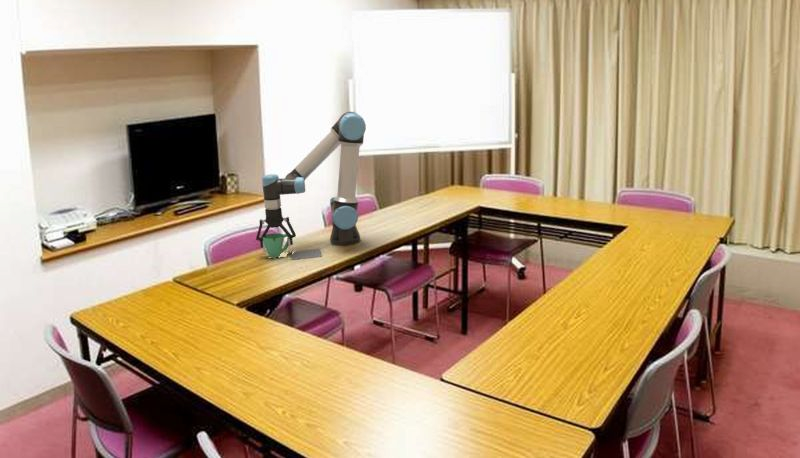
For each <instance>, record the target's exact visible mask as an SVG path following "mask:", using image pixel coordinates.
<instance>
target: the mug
mask: <svg viewBox="0 0 800 458" xmlns="http://www.w3.org/2000/svg"><path fill="white" fill-rule="evenodd" d="M285 238H286V242H285V244H284V239H285ZM288 238H289V237H288V236H287V234H286V233H284V234H283V233H267V234H266V235H265V237H263V241H264V244H265V250H266V253H267V255H268V258H269V257H271V258H274V259H277V258H276V257H279V256H280V254H281V253H283V252H286V250H287V249H288V248H289V242H288Z"/></svg>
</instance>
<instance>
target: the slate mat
mask: <svg viewBox="0 0 800 458" xmlns="http://www.w3.org/2000/svg"><path fill="white" fill-rule="evenodd" d="M295 251H296V252H294V253H293V254H290V255H291V261H293V260H304V259H305V260H306V259H314V258H322V257H323V255H322V251H321V248H311V249H301V250H295Z"/></svg>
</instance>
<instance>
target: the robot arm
mask: <svg viewBox="0 0 800 458" xmlns="http://www.w3.org/2000/svg"><path fill="white" fill-rule="evenodd" d="M366 125H367V124H366V121H365V120H364V118H363V117H362V115H360V114H358V113H357V112H355V111H347V112H345V113H343V114H341V116H340V117H339V118H338V119H337V121H336V122H335V123H334V125H333V126H331V128H330V131H329V133H328V134H327V135H325V137H323V139H322V140H321V141H320V142H319V143H318V144H317V145H316V146H315V147H314V148H313V149H312V150H311V151H310V152H308V154H307V155H306V156H305V157H304V158H303V159H302V160H301V161H300V162H299V163H298V164H297V165H296V166H295V167H294V168H293V170H291V171H290V172H289V173H287V174H286V175H285V178H279V175H278V174H275V173H274V174H265V175H263V176H262V180H261V181H262V182H261V183H262V192H263V201H264V202H263V203H264V211H265V213H264V214H265V219H261V218H260V219H259V227H258V229H257V234H256V238H255V240H256V241H259V243H260V248H261V249H263V255H264V256H265V255H266V253H267V251H266V248H265V244H264V241H263V237H265V235H266V234H268V232H269V231H270V229H274V228H280V229H281V230H282V232H284V234H287V236H288V237H289V238H288V242H289V246H288V253H291V251H292V248H291V247H292V246H293V245H294V243H293V242H294V241H293V239H294V238H296V236H297V235H296V234H297V233H296V232H295V230H294V228H293V225H292V224H291V222H290V217H289V216H286V217H284V216H283V211H282V207H281V206H282V200H281V196H282V195H295V194H297V195H299V194H304V193H305V192H306V183H305V181H306V180H307V179H308V178H309V176H310V175H311V174H312V173H313V172H315V171H316V170H317V169H318V167H319V166H320V165H321V164H322V163H324V162H325V161H326V159H328V157H329V156H330V155H332V154H333V152H334V151H335V150H336V149H338V147H339V146H340V158H339V170H338V171H339V172H338V181H337V182H338V184H337V195H336V196H334V197H331V198H330V201H329V204H330V211H331V223H332V229H331V233H330V237H329V243H330V244H331V245H334V246H350V245H355V244H357V243H360V241H361V234H360V232H359V230H358V228H357V223H358V221H359V214H358V208H359V200H358V199H357V197H356V194H357V185H358V184H357V182H358V181H357V180H358V169H359V158H360V147H361V146H363V145H364V136H365V133H366V131H367V130H366V128H367V127H366ZM283 222H285V223H286V225H287V227H288V228H289V230H288V229H287V228H286V227H285V226H284V224H283ZM265 223H266V225H267V226H266V228H265V229H264V231H263V233H262V234H261V231H262V229H263V225H264V224H265ZM289 231H290V232H289Z"/></svg>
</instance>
